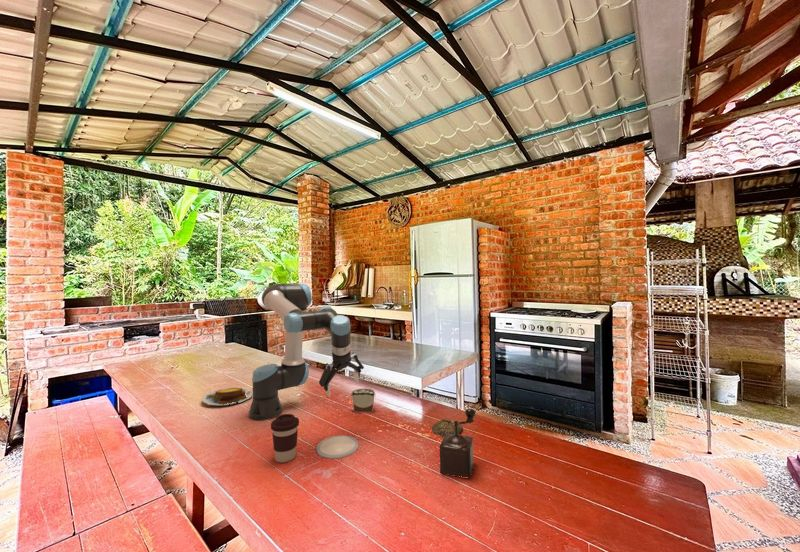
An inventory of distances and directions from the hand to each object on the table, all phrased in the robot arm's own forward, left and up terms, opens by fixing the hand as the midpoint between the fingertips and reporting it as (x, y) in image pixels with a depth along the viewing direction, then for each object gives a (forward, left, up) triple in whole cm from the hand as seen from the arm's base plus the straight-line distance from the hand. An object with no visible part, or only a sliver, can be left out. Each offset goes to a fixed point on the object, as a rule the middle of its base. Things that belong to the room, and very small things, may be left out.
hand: (342, 388), depth 143 cm
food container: (-14, +17, -18) cm, 29 cm away
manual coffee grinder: (+48, +24, -19) cm, 57 cm away
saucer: (+13, -8, -18) cm, 24 cm away
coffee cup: (+9, -27, -18) cm, 34 cm away
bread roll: (+26, +37, -19) cm, 49 cm away
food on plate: (-70, -40, -19) cm, 83 cm away
